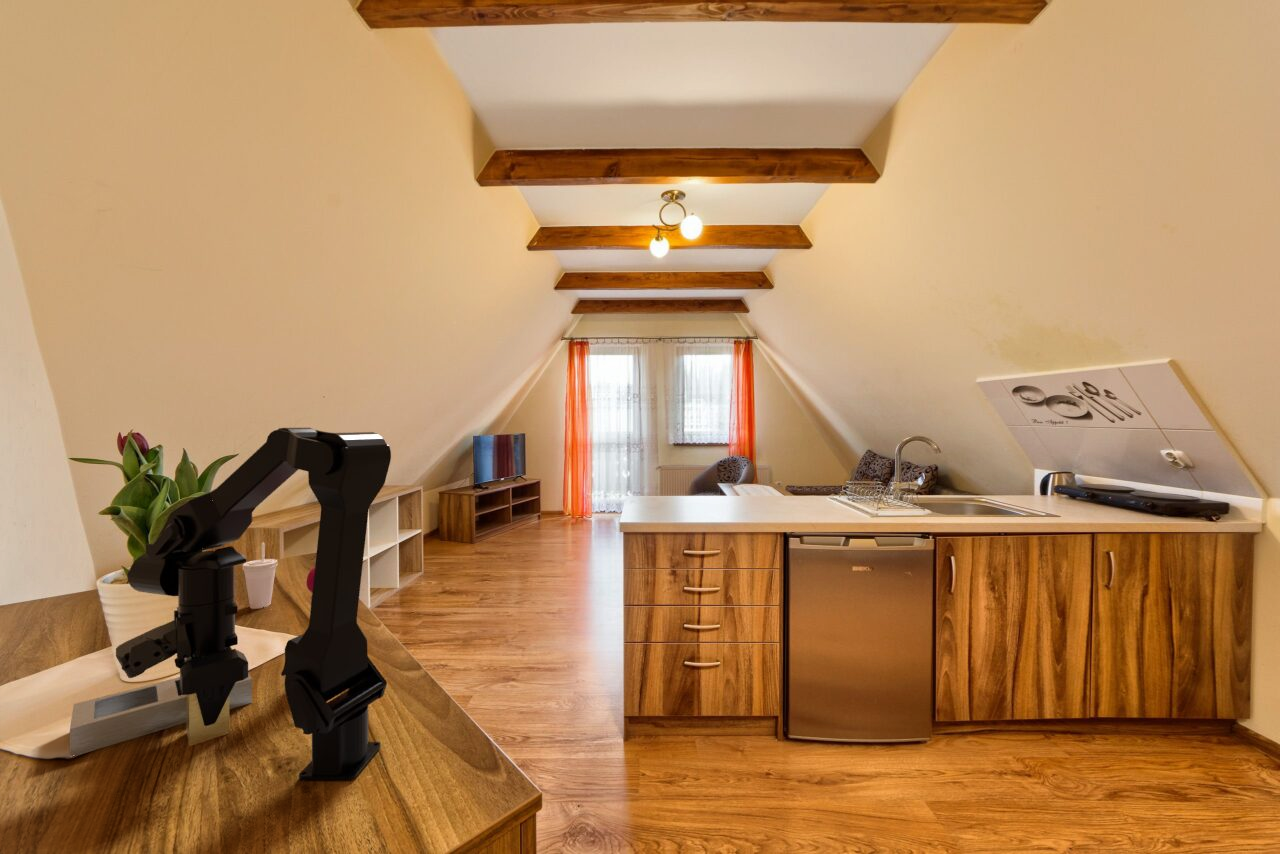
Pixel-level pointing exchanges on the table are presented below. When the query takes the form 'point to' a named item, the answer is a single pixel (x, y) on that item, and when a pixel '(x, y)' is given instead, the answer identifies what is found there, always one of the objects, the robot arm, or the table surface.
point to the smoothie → (260, 580)
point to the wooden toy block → (196, 725)
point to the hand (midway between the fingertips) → (207, 717)
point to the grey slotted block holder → (136, 713)
